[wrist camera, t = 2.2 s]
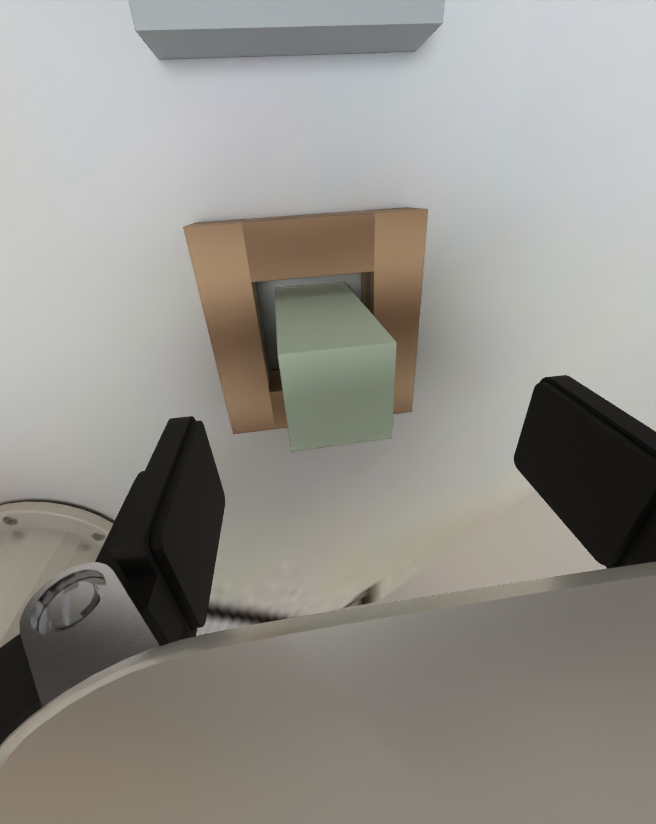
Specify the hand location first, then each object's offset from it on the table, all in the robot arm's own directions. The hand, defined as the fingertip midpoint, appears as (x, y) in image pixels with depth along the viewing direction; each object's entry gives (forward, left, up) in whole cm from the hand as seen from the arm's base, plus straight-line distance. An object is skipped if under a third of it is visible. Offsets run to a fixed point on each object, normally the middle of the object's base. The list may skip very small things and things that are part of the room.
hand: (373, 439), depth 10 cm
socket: (0, 0, -13) cm, 13 cm away
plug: (0, 0, -13) cm, 13 cm away
